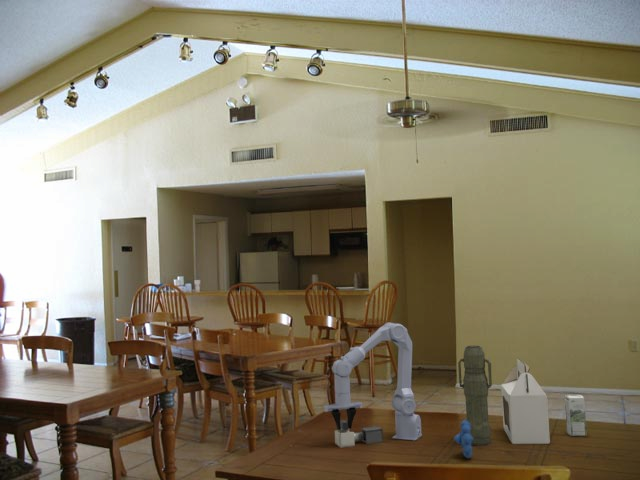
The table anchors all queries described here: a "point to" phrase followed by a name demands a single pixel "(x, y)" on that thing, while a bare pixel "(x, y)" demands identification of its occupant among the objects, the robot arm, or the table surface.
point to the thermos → (476, 393)
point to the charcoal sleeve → (372, 434)
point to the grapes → (465, 439)
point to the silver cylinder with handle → (356, 435)
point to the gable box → (524, 407)
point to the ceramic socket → (344, 438)
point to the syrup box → (575, 415)
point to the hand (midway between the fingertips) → (344, 429)
